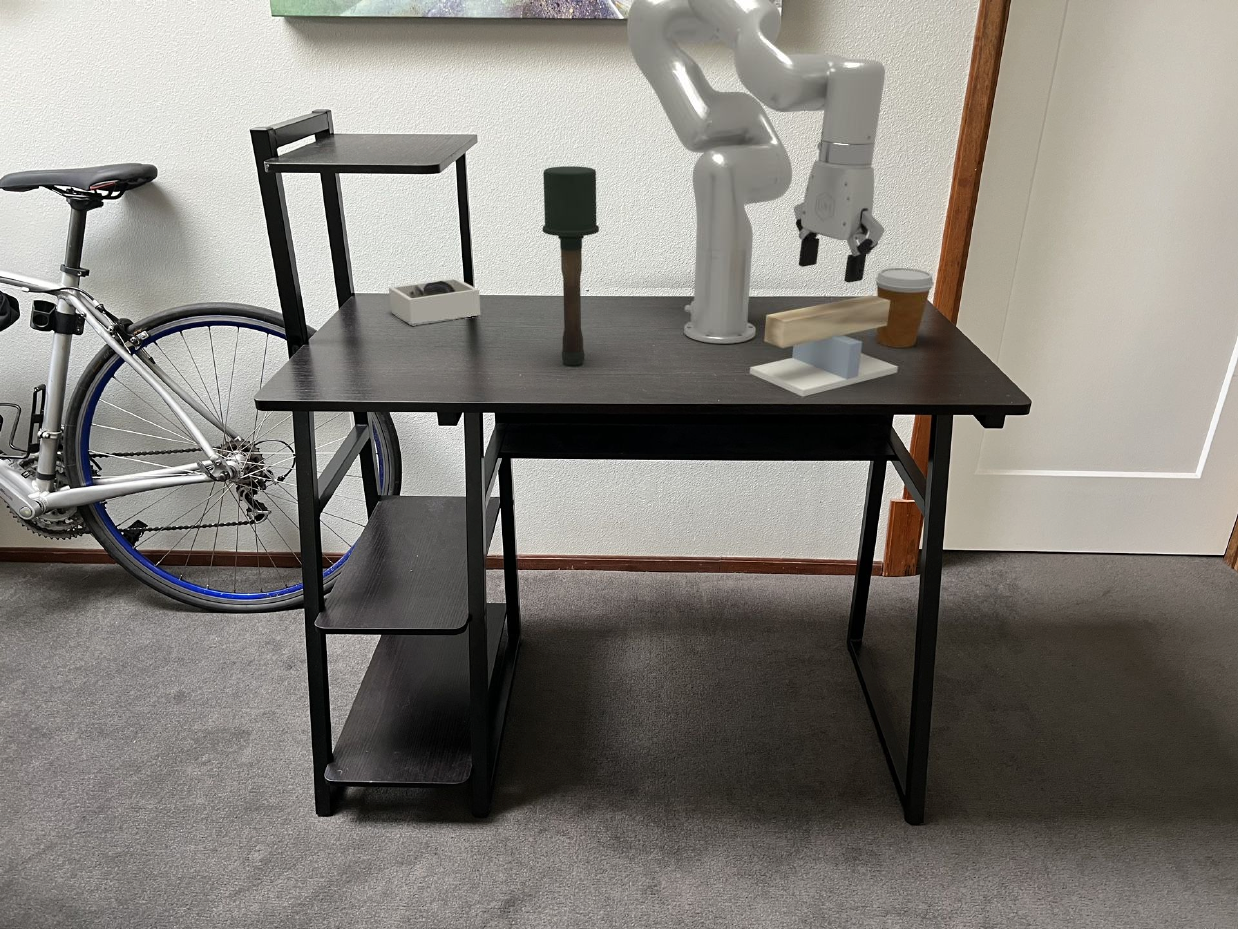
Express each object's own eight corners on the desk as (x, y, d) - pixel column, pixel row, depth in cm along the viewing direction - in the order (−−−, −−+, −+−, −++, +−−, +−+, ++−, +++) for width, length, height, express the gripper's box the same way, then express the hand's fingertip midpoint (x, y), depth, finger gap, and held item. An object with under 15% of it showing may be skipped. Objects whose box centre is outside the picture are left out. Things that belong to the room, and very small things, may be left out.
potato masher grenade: (607, 357, 149) (606, 167, 136) (588, 374, 142) (586, 174, 129) (559, 352, 152) (554, 164, 139) (538, 368, 144) (531, 171, 132)
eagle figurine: (410, 315, 166) (458, 305, 167) (402, 278, 167) (451, 268, 167) (419, 327, 174) (465, 317, 174) (411, 291, 175) (457, 282, 175)
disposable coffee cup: (856, 338, 160) (864, 270, 155) (899, 331, 163) (908, 265, 158) (891, 353, 152) (901, 282, 147) (936, 346, 155) (947, 277, 150)
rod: (764, 341, 136) (766, 315, 135) (868, 319, 147) (871, 294, 145) (782, 348, 133) (784, 321, 132) (886, 325, 144) (890, 300, 142)
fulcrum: (749, 373, 143) (752, 333, 140) (841, 352, 152) (846, 314, 150) (802, 396, 134) (806, 354, 131) (896, 372, 143) (902, 332, 141)
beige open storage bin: (391, 313, 173) (388, 287, 170) (457, 303, 179) (456, 278, 177) (411, 327, 164) (409, 299, 162) (480, 316, 171) (479, 289, 169)
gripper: (784, 147, 134) (772, 262, 142) (872, 165, 121) (853, 291, 129) (822, 144, 137) (808, 257, 145) (911, 161, 125) (890, 284, 132)
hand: (829, 273), depth 137 cm, fingers open, 9 cm apart
